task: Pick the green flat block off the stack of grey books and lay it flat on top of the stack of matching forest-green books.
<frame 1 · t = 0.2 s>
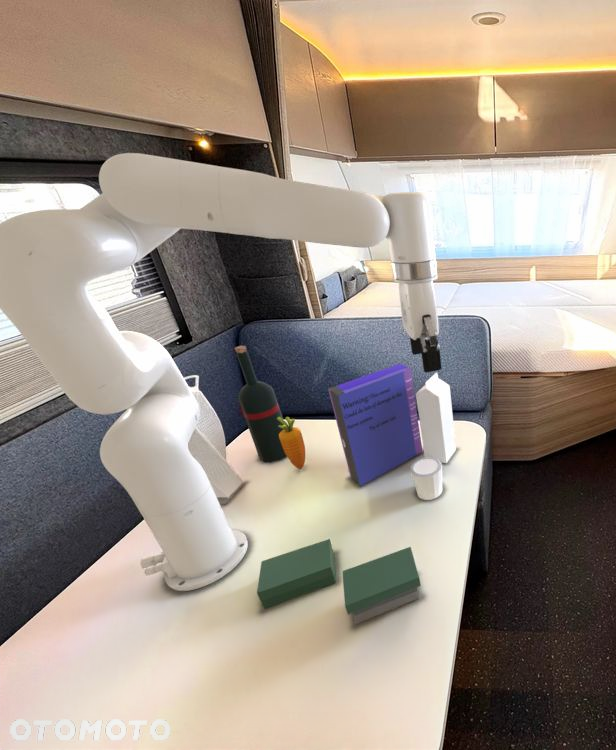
hand: (426, 361, 74), 31 cm above the table, tool pointing down, fingers open, 9 cm apart
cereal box: (388, 465, 96), on the table
carrot: (301, 469, 95), on the table
grey books: (386, 598, 63), on the table
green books: (301, 579, 67), on the table
skyscraper: (225, 491, 89), on the table
wine bottle: (273, 453, 102), on the table
milk: (441, 455, 99), on the table
green flat block: (382, 582, 62), point 4 cm above the table, touching grey books
white cylinder: (429, 491, 86), on the table
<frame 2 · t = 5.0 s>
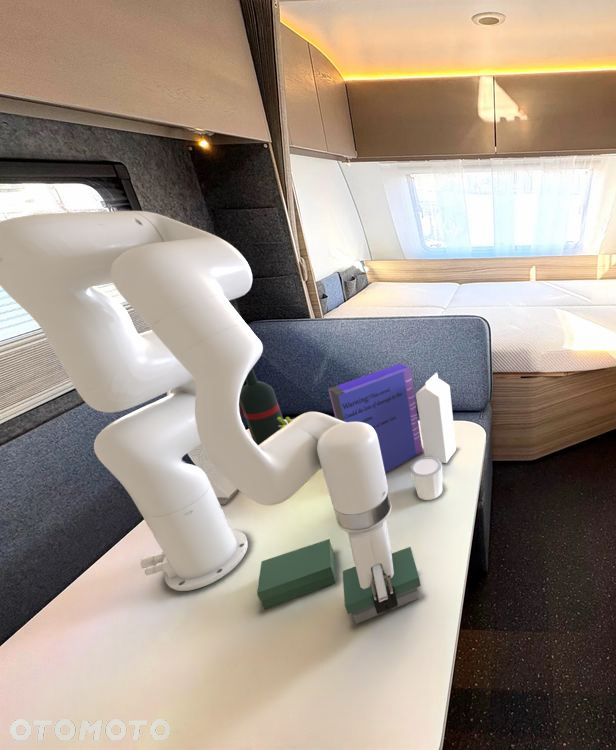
hand: (383, 588, 62), 3 cm above the table, tool pointing down, fingers closed on green flat block, 6 cm apart
green flat block: (382, 582, 62), point 4 cm above the table, touching grey books, gripper
everything else where it was.
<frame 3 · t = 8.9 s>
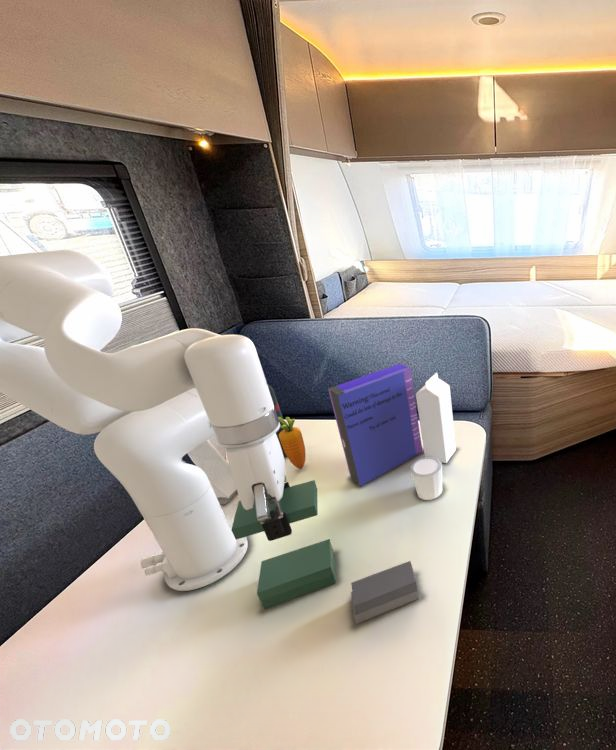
hand: (282, 519, 61), 14 cm above the table, tool pointing down, fingers closed on green flat block, 6 cm apart
green flat block: (279, 512, 60), point 16 cm above the table, touching gripper
everything else where it was.
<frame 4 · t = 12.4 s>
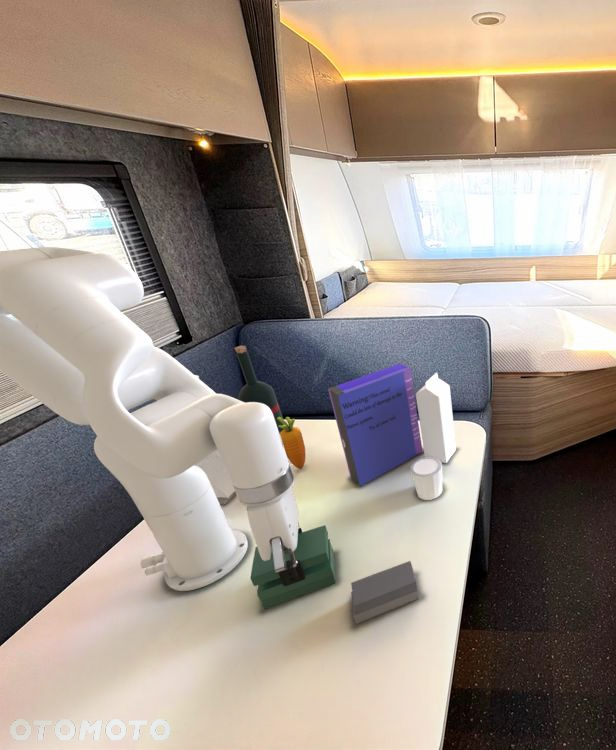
hand: (295, 563, 65), 4 cm above the table, tool pointing down, fingers closed on green flat block, 6 cm apart
green flat block: (293, 557, 65), point 5 cm above the table, touching gripper
everything else where it was.
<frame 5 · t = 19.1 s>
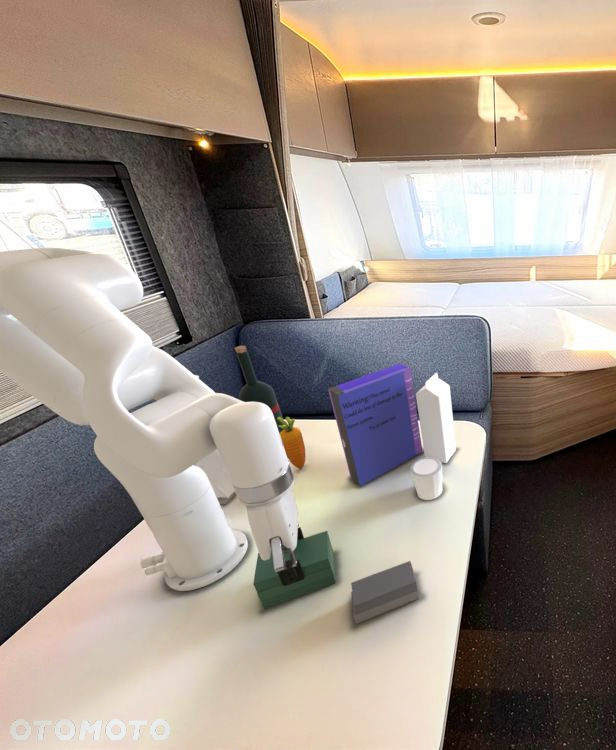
hand: (295, 563, 65), 4 cm above the table, tool pointing down, fingers closed on green flat block, 6 cm apart
green flat block: (295, 563, 66), point 4 cm above the table, touching gripper
everything else where it was.
when the fingers open (5 cm above the table, at t = 19.3 s): green flat block stays where it is, resting on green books.
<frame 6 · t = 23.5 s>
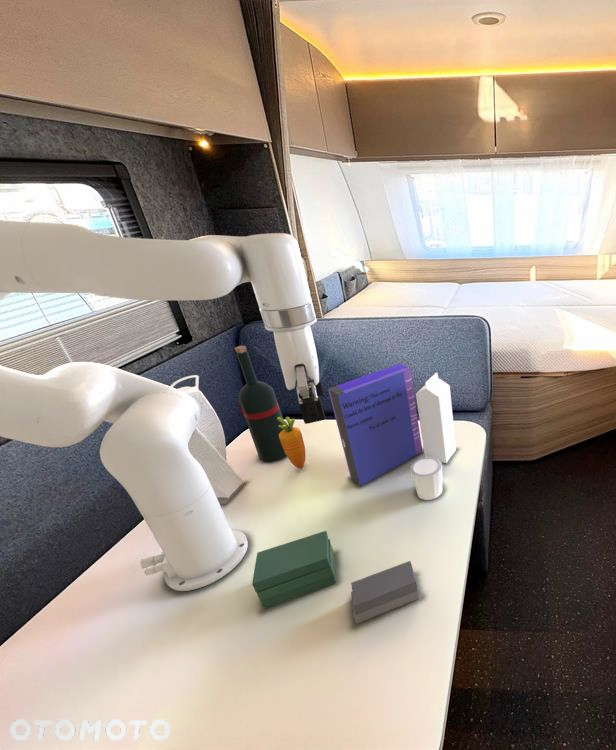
hand: (315, 408, 69), 26 cm above the table, tool pointing down, fingers open, 9 cm apart
green flat block: (294, 563, 66), point 4 cm above the table, touching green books
everything else where it was.
at the end: green flat block 0.3 cm off-centre on the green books, point 4.0 cm above the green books's base; green flat block tilted 0° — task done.
